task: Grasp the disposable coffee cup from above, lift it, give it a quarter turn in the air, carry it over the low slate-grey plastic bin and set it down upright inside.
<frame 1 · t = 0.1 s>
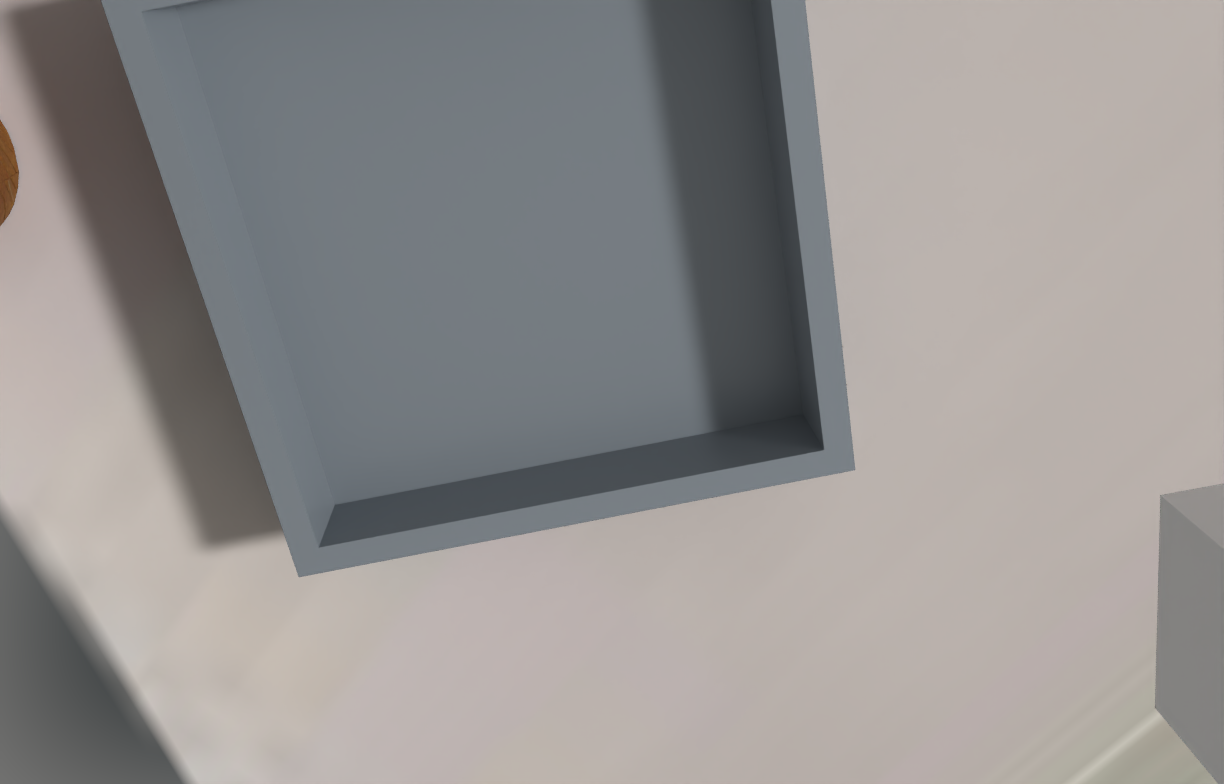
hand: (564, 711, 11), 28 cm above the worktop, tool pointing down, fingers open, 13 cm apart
bin: (518, 223, 38), on the worktop
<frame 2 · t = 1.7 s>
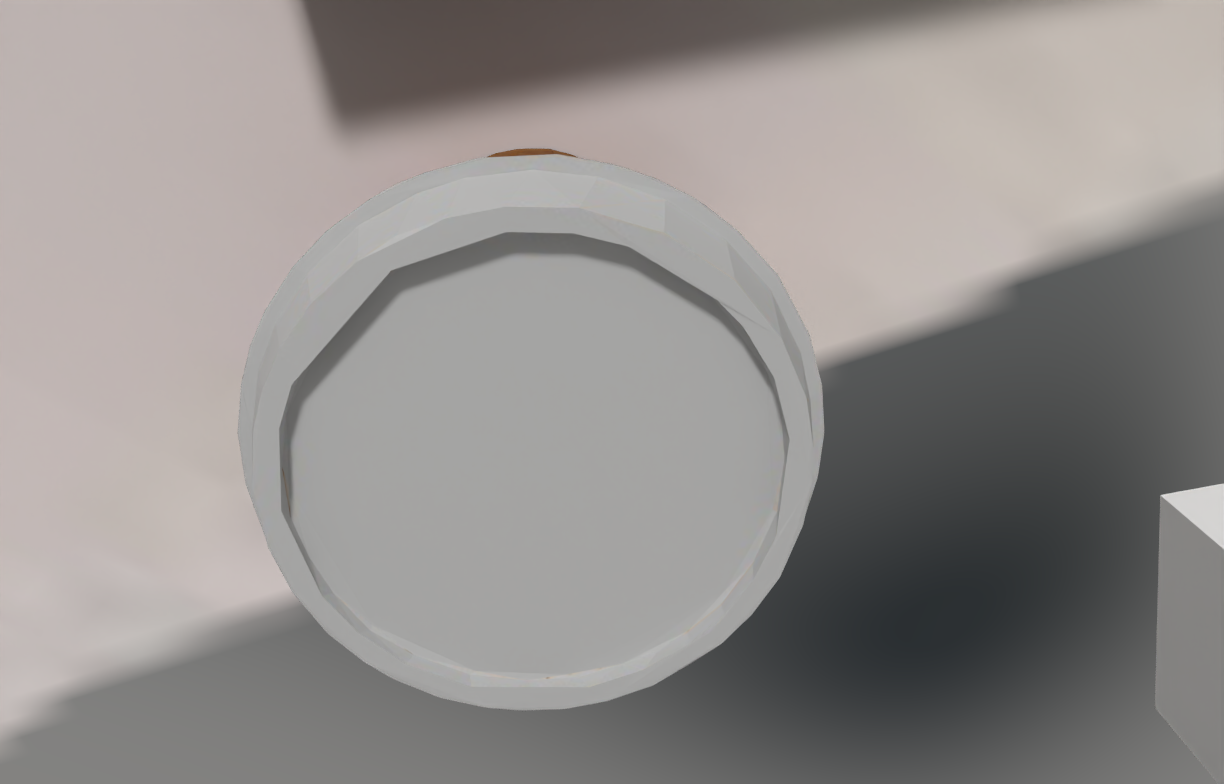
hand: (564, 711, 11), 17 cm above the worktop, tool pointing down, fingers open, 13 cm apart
disposable coffee cup: (533, 269, 28), on the worktop
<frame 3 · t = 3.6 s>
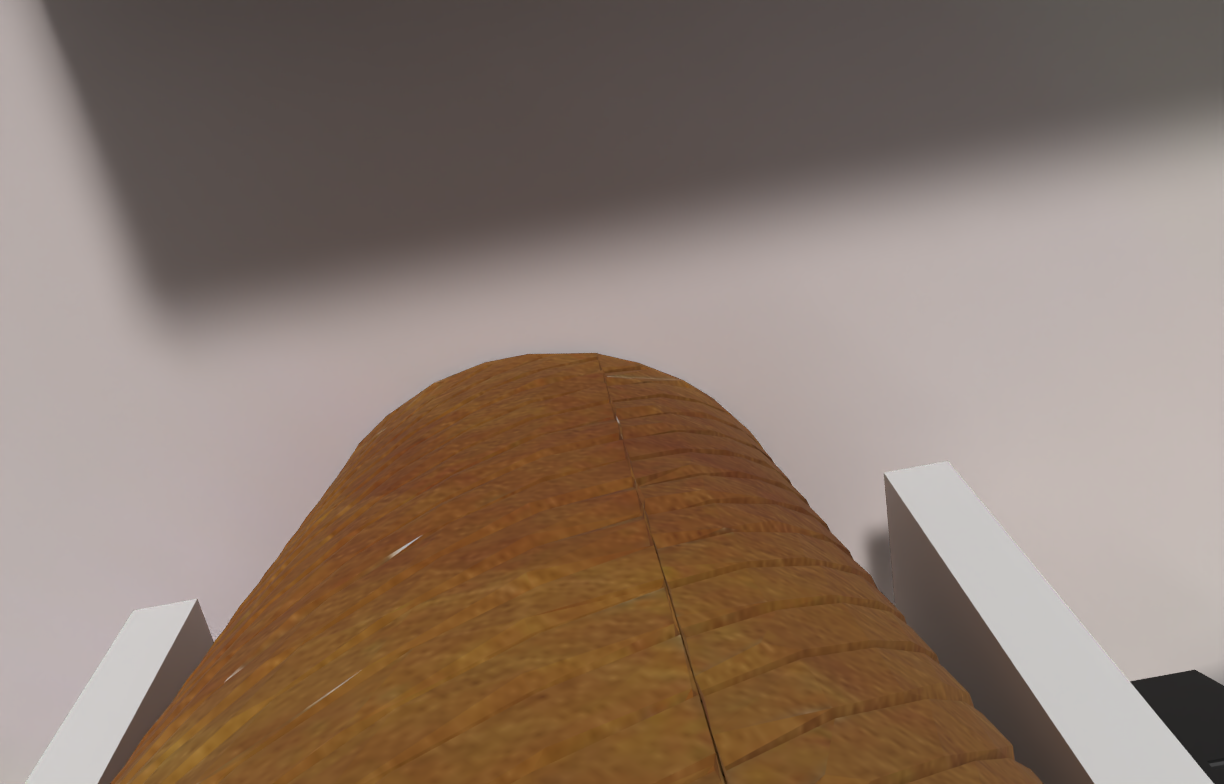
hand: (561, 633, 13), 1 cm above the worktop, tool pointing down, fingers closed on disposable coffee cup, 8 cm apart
disposable coffee cup: (559, 568, 14), on the worktop, touching gripper
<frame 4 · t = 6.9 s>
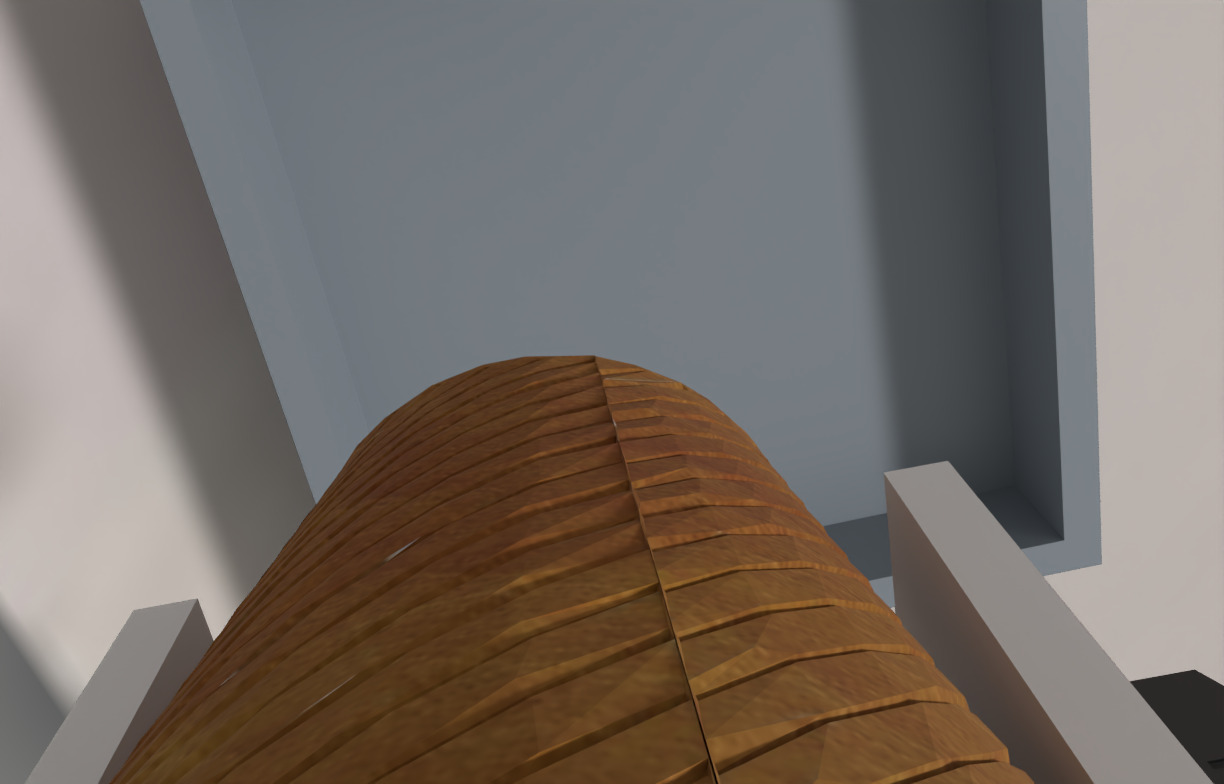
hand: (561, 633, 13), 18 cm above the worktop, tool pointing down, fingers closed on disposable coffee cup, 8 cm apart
bin: (662, 254, 29), on the worktop
disposable coffee cup: (557, 570, 14), point 16 cm above the worktop, touching gripper
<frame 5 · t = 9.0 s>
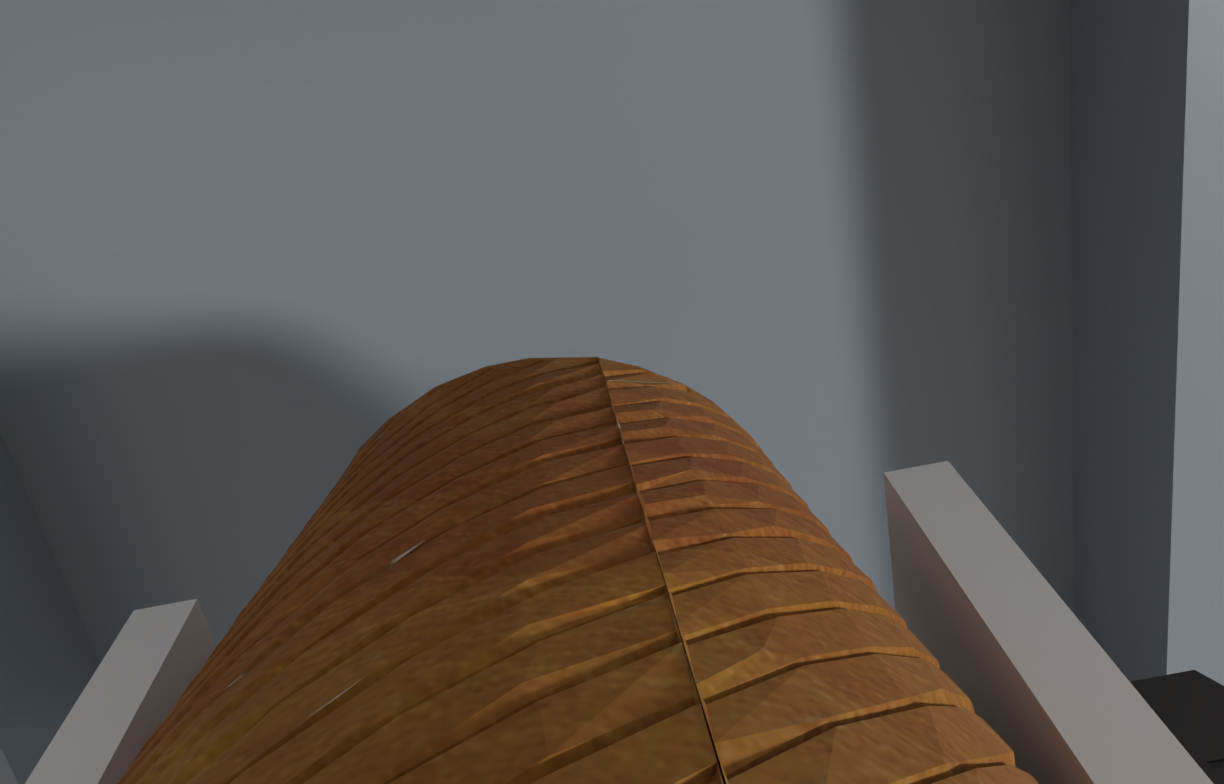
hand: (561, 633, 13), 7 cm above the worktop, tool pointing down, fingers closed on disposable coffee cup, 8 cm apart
bin: (553, 407, 19), on the worktop
disposable coffee cup: (560, 571, 14), point 5 cm above the worktop, touching gripper
when the fingers open (4 cm above the worktop, at t = 10.2 s): disposable coffee cup drops 1 cm, resting on bin.
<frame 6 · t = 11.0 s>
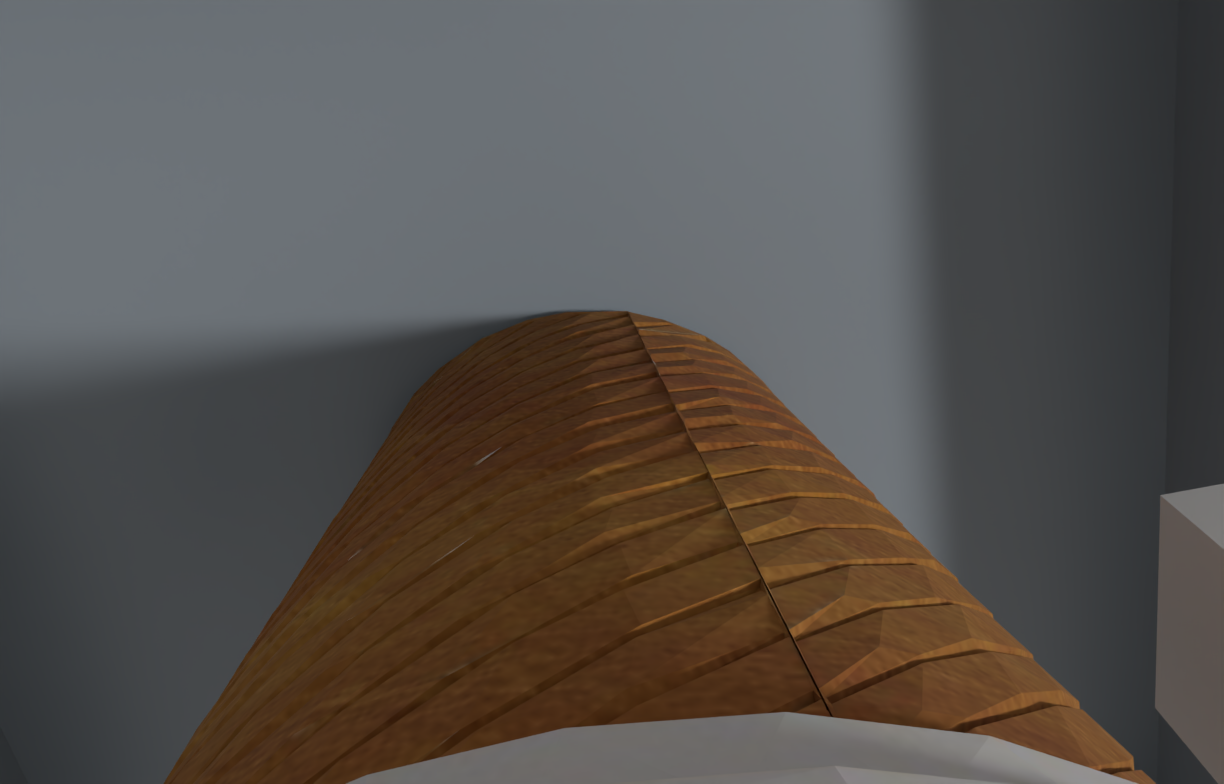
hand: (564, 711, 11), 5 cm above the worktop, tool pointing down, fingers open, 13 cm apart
bin: (556, 490, 16), on the worktop
disposable coffee cup: (591, 508, 16), point 1 cm above the worktop, touching bin
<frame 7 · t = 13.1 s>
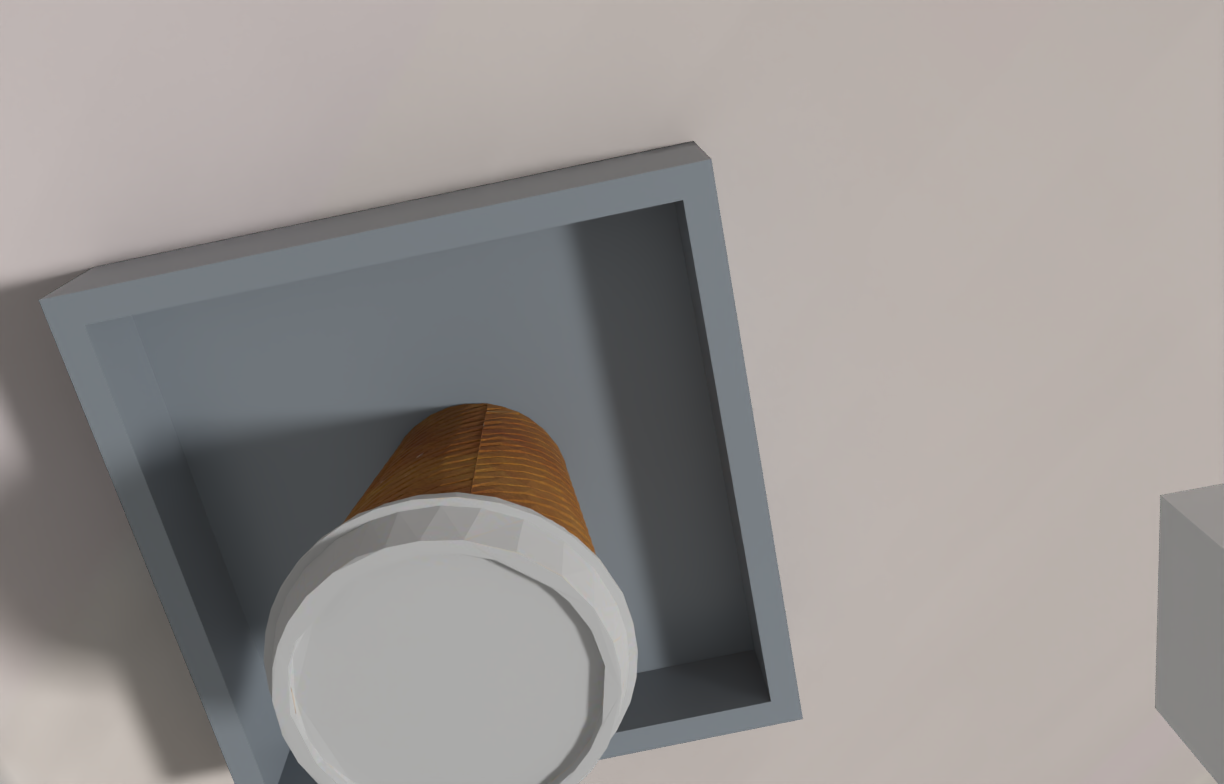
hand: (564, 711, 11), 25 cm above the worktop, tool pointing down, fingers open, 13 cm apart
bin: (466, 477, 38), on the worktop
disposable coffee cup: (479, 483, 38), point 1 cm above the worktop, touching bin
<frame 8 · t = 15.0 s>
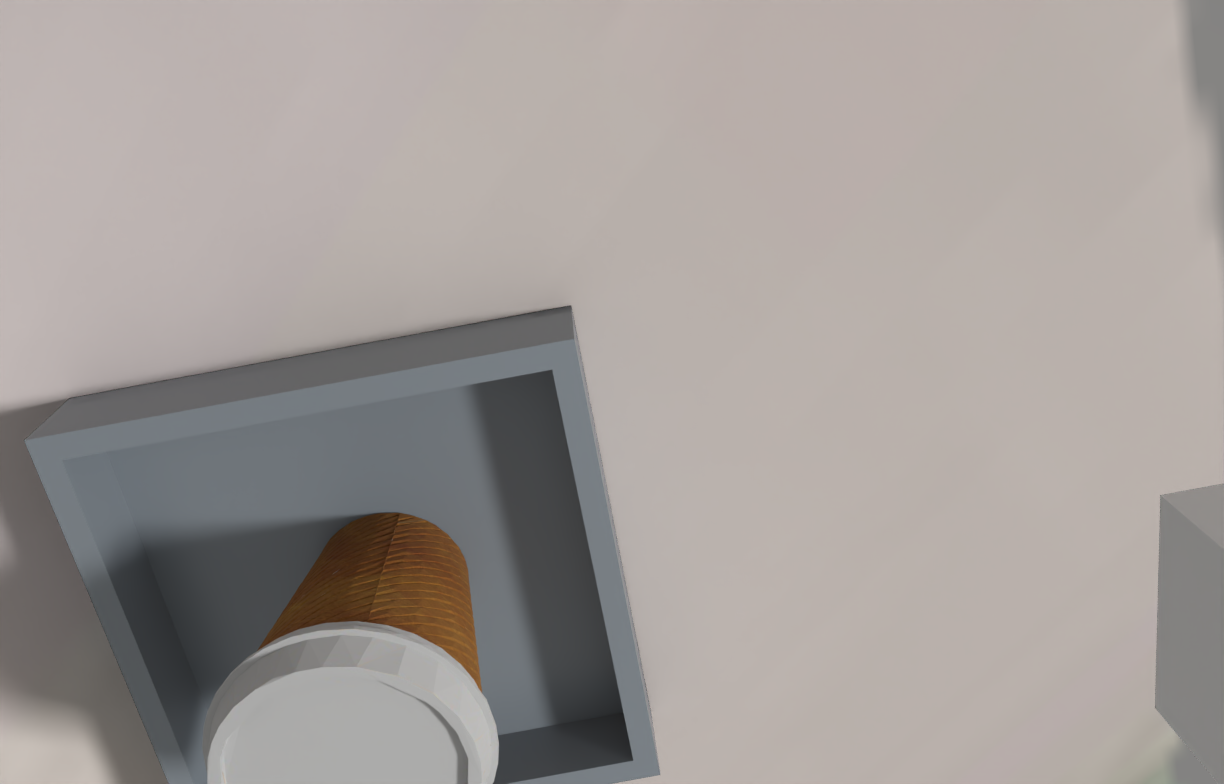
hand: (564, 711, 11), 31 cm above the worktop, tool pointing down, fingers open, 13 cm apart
bin: (384, 568, 46), on the worktop
disposable coffee cup: (393, 575, 45), point 1 cm above the worktop, touching bin
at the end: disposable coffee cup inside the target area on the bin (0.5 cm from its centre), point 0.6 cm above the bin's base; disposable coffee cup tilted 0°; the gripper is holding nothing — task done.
